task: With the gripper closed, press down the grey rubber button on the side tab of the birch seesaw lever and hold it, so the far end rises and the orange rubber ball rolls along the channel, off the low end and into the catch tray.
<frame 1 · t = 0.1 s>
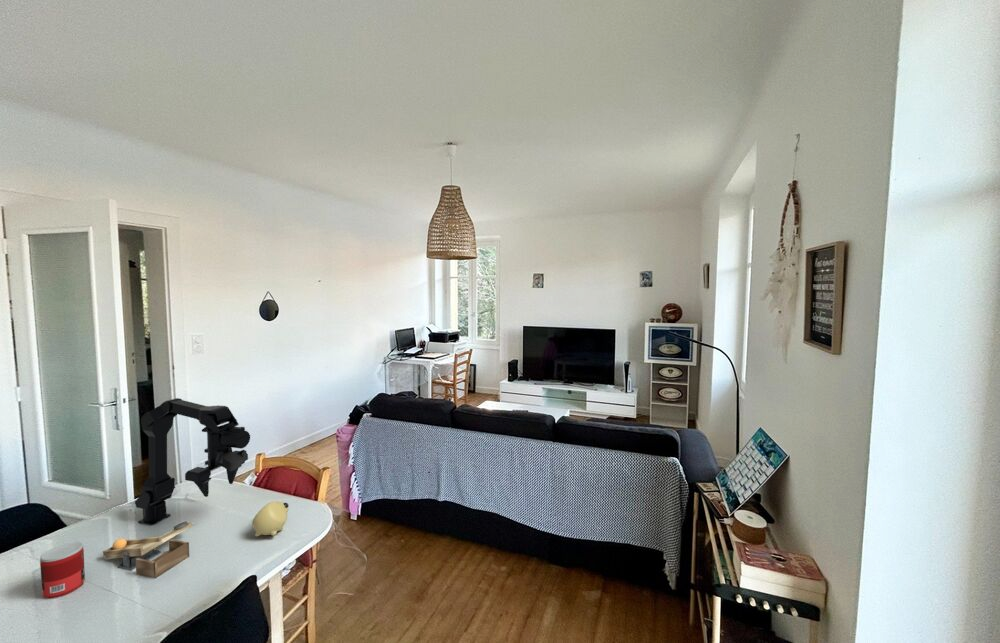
hand: (219, 489, 137), 15 cm above the table, fingers open, 9 cm apart
fulcrum: (139, 560, 123), on the table
canned food: (64, 589, 111), on the table
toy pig: (271, 532, 139), on the table
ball: (119, 544, 124), point 4 cm above the table, tilted 8°, touching lever
tray: (163, 565, 121), on the table
lever: (150, 537, 128), point 4 cm above the table, hinge at -14.0°, touching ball
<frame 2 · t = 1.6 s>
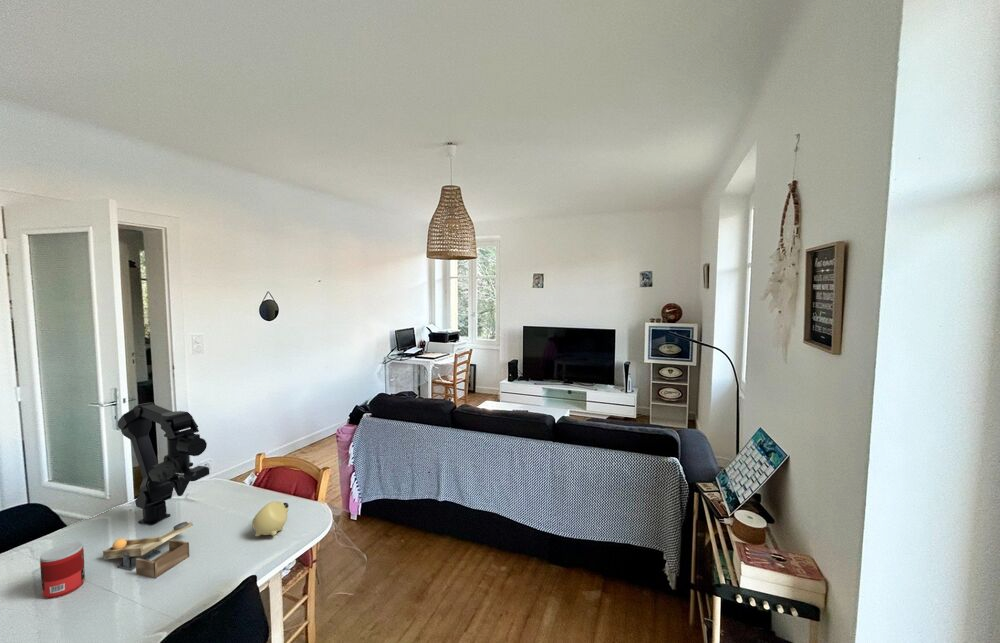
hand: (180, 495, 138), 12 cm above the table, fingers closed
nothing on the table moved.
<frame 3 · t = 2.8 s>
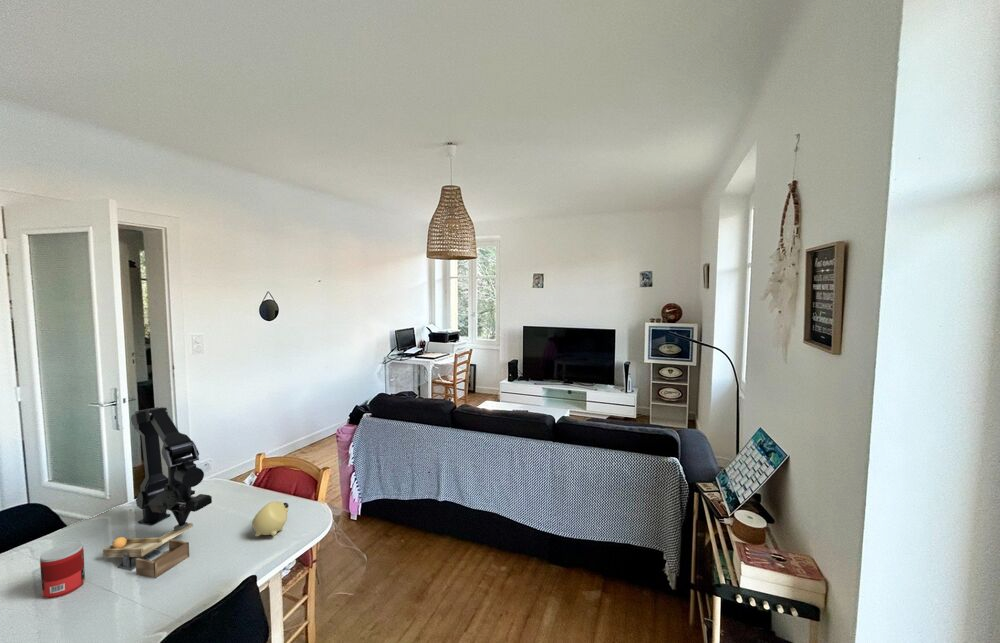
hand: (181, 525, 132), 5 cm above the table, fingers closed, pressing on lever
lever: (150, 537, 128), point 4 cm above the table, hinge at -10.6°, touching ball, gripper
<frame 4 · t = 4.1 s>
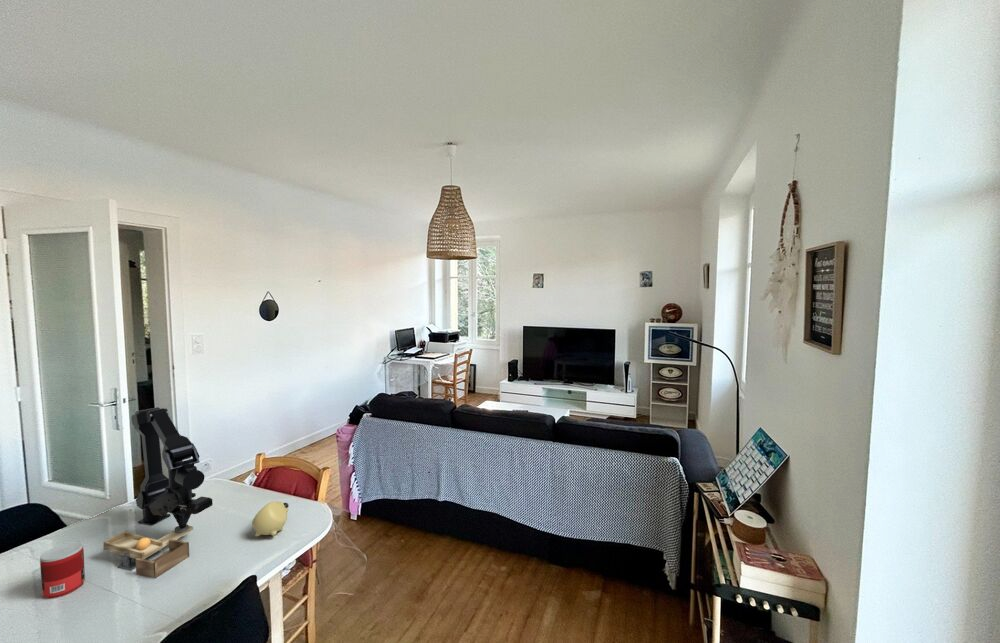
hand: (182, 527, 132), 5 cm above the table, fingers closed, pressing on lever
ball: (143, 543, 122), point 5 cm above the table, tilted 29°, touching lever
lever: (150, 535, 128), point 4 cm above the table, hinge at 3.8°, touching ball, gripper
everything else where it was.
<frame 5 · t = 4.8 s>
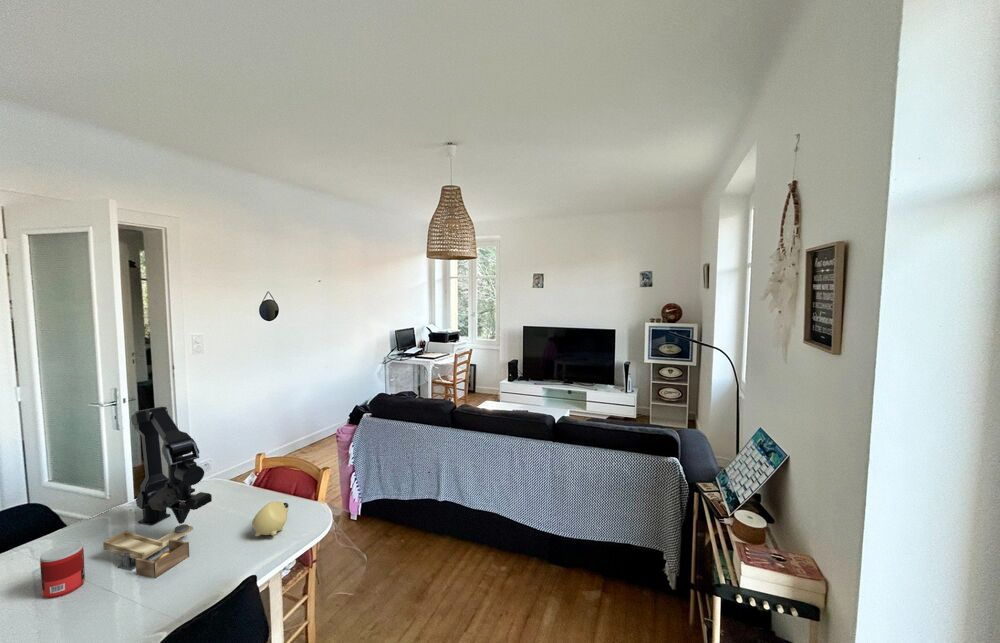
hand: (181, 523, 132), 6 cm above the table, fingers closed
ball: (165, 559, 121), point 2 cm above the table, tilted 72°, touching tray
lever: (150, 535, 128), point 4 cm above the table, hinge at 4.2°
everything else where it was.
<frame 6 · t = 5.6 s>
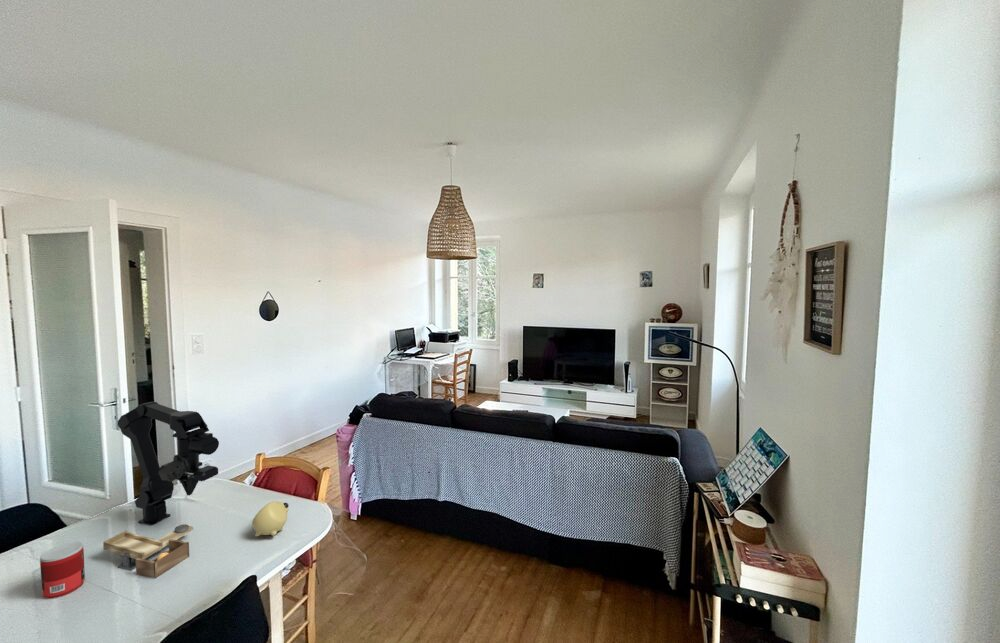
hand: (189, 494, 139), 12 cm above the table, fingers closed
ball: (163, 558, 121), point 2 cm above the table, tilted 102°, touching tray
everything else where it was.
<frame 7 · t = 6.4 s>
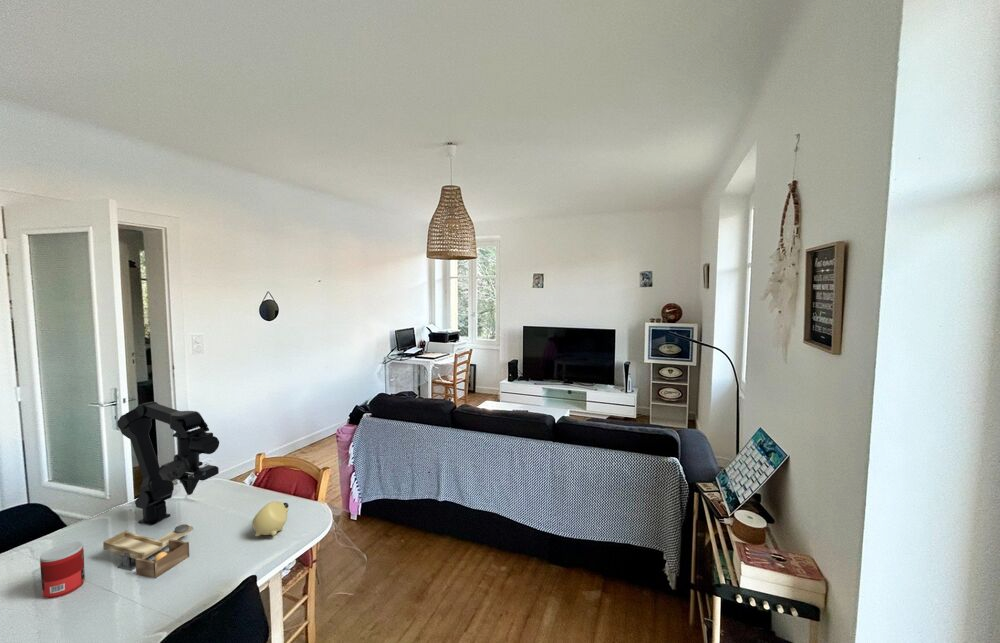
hand: (189, 494, 139), 12 cm above the table, fingers closed
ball: (161, 558, 121), point 2 cm above the table, tilted 131°, touching tray
everything else where it was.
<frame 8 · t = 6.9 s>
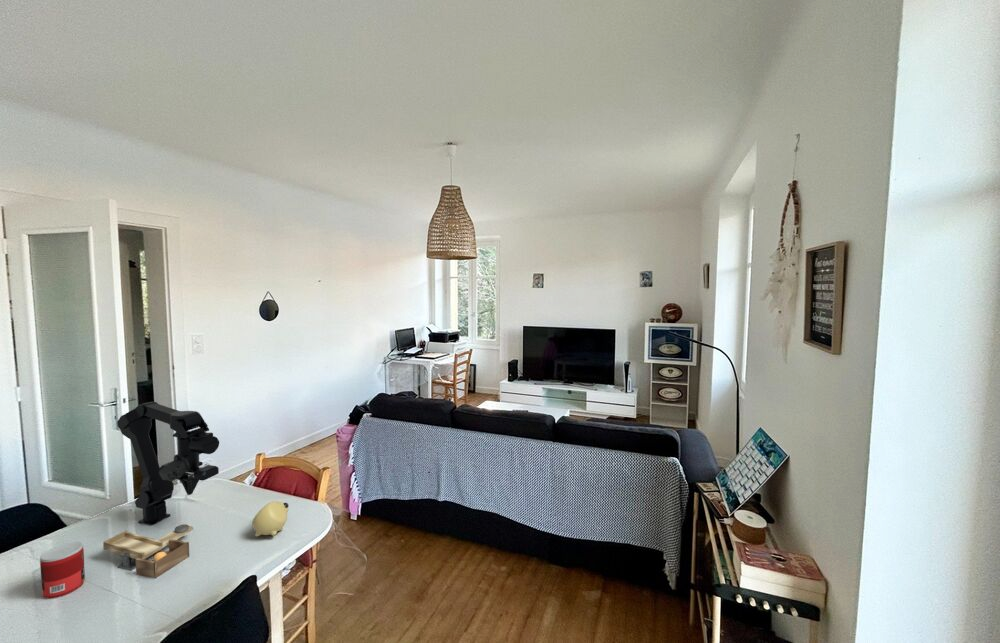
hand: (189, 494, 139), 12 cm above the table, fingers closed
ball: (159, 557, 121), point 2 cm above the table, tilted 149°, touching tray
everything else where it was.
at the end: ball inside the target area on the tray (1.3 cm from its centre), point 2.0 cm above the tray's base; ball touching tray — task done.
